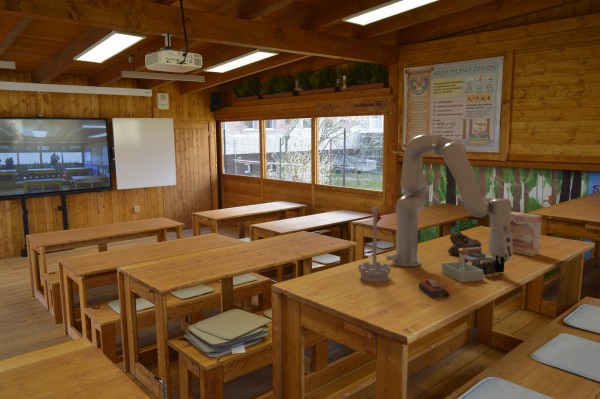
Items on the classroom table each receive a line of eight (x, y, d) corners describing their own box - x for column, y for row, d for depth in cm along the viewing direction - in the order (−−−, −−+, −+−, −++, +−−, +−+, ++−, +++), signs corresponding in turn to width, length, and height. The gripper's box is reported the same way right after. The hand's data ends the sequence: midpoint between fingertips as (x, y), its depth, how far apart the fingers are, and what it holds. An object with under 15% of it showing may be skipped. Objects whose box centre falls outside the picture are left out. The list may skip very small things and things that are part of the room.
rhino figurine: (506, 268, 201) (501, 255, 202) (490, 274, 192) (484, 260, 193) (498, 271, 204) (493, 257, 205) (481, 276, 195) (476, 263, 196)
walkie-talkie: (454, 298, 171) (430, 281, 191) (455, 286, 170) (430, 271, 190) (432, 300, 170) (410, 283, 189) (432, 288, 169) (410, 272, 189)
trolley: (474, 272, 201) (475, 254, 200) (456, 263, 215) (457, 246, 214) (497, 270, 204) (497, 252, 203) (477, 261, 217) (478, 245, 216)
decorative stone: (480, 247, 221) (450, 233, 226) (470, 267, 224) (440, 252, 230) (484, 239, 234) (456, 225, 240) (475, 257, 238) (447, 243, 244)
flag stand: (379, 285, 186) (380, 210, 182) (352, 278, 194) (352, 207, 190) (396, 277, 196) (397, 206, 191) (369, 271, 204) (370, 203, 200)
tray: (460, 282, 188) (461, 272, 188) (441, 272, 202) (441, 263, 201) (482, 280, 191) (483, 270, 190) (462, 270, 204) (462, 261, 204)
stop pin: (460, 276, 194) (461, 250, 192) (455, 273, 197) (456, 248, 196) (467, 275, 195) (469, 249, 193) (462, 273, 198) (463, 247, 197)
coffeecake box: (503, 250, 238) (505, 212, 235) (510, 248, 242) (512, 211, 239) (532, 256, 226) (535, 216, 223) (539, 254, 230) (542, 215, 227)
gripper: (520, 231, 186) (519, 275, 189) (496, 224, 201) (495, 266, 203) (504, 232, 185) (503, 277, 187) (481, 226, 199) (480, 268, 201)
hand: (499, 271), depth 195 cm, fingers closed
